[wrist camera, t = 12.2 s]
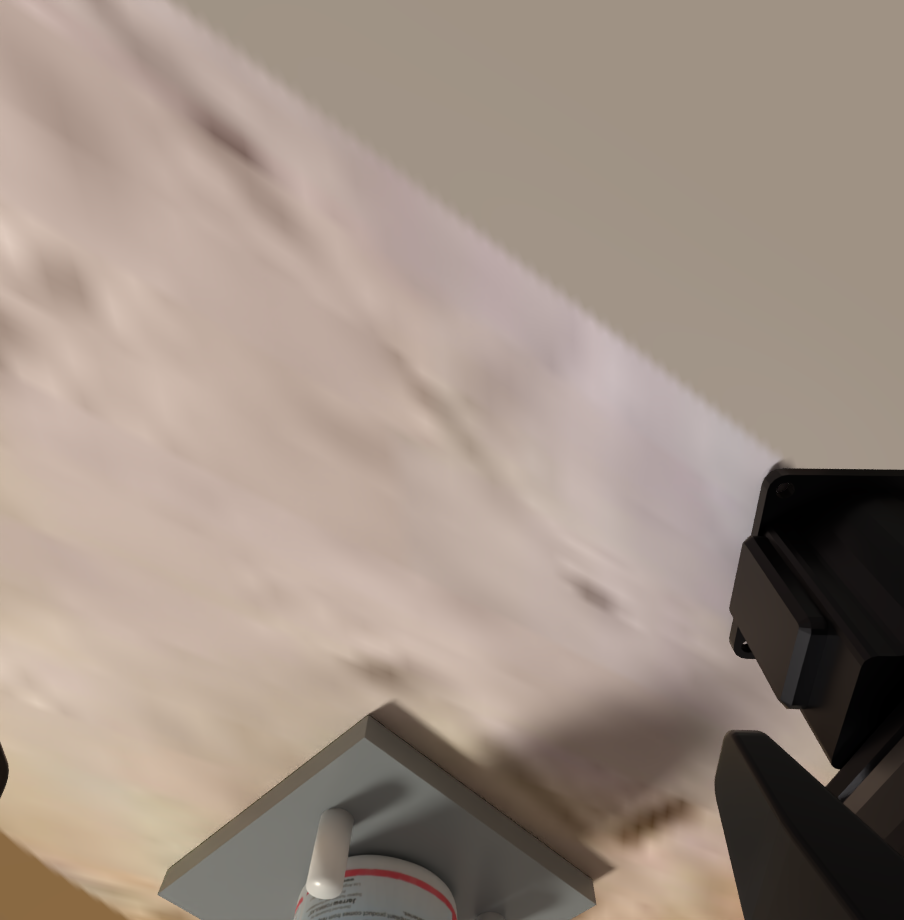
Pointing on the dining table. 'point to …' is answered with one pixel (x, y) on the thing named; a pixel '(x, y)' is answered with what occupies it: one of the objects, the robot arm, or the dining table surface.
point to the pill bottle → (382, 893)
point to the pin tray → (373, 841)
